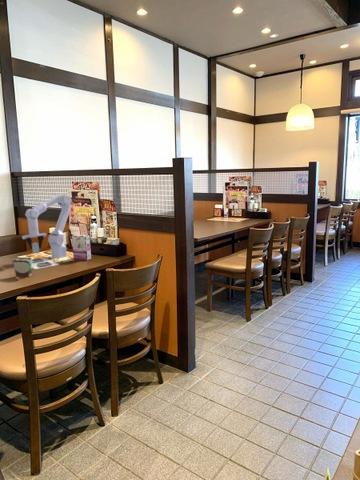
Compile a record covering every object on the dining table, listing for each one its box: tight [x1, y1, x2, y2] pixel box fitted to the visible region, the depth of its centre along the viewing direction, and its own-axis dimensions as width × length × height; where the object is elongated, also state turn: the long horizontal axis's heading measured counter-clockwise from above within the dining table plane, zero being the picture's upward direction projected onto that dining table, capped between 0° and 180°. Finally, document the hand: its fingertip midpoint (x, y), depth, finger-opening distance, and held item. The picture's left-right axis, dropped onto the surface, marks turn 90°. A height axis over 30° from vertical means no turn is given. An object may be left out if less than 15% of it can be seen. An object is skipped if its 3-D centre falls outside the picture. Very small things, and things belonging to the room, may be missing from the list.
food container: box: [12, 256, 33, 278], centre depth 200 cm, size 12×6×10 cm, turn 71°
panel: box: [31, 257, 60, 270], centre depth 225 cm, size 15×24×2 cm, turn 41°
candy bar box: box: [71, 234, 92, 261], centre depth 233 cm, size 11×5×16 cm, turn 68°
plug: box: [31, 241, 40, 254], centre depth 228 cm, size 4×4×7 cm
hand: (35, 248), depth 228 cm, fingers closed on plug, 5 cm apart
